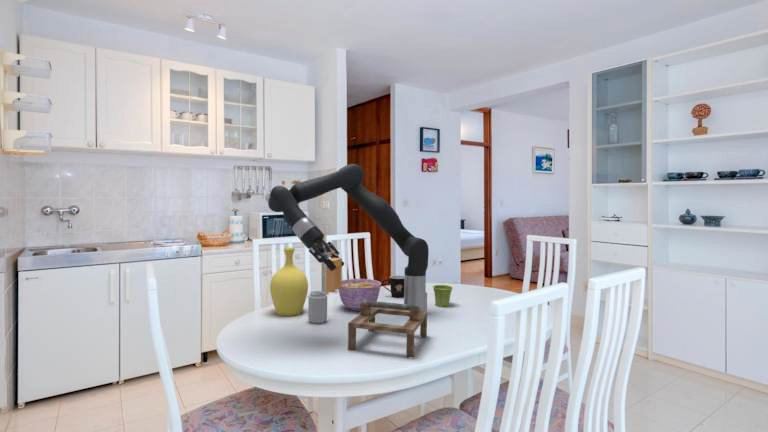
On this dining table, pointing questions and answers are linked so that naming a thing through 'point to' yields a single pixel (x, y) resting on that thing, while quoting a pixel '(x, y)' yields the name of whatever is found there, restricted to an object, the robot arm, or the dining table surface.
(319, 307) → the can
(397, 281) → the coffee mug
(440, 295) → the plant pot
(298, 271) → the vase
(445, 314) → the dining table surface
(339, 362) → the dining table surface
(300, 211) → the robot arm
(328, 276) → the orange two-legged bench
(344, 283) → the bowl of food
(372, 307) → the wooden slider frame
